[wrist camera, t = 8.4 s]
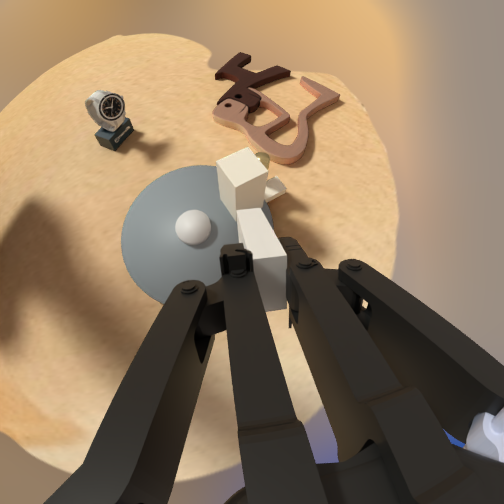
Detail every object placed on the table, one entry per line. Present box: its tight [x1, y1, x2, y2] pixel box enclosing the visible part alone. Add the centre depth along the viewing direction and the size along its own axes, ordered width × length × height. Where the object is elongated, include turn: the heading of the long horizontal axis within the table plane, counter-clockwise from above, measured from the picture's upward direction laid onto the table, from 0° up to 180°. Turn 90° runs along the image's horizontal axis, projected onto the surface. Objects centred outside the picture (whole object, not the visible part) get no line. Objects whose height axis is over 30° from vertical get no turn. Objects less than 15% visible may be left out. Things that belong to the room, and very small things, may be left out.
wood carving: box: [213, 52, 340, 164], centre depth 46 cm, size 28×2×24 cm
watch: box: [85, 90, 134, 151], centre depth 37 cm, size 6×8×11 cm
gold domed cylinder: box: [255, 152, 270, 170], centre depth 36 cm, size 2×2×7 cm
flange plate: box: [121, 147, 287, 304], centre depth 31 cm, size 24×20×9 cm
